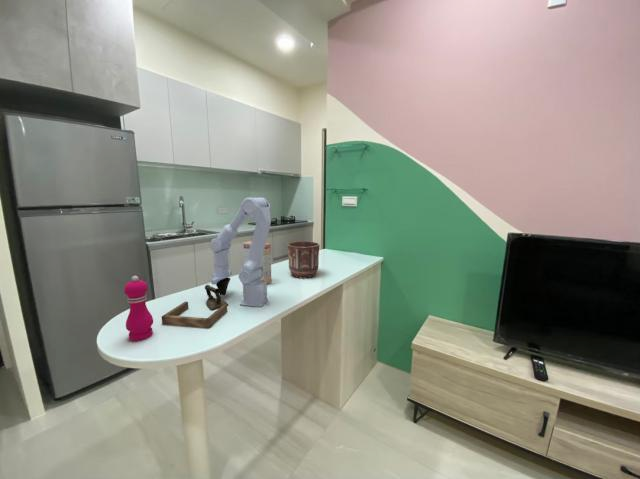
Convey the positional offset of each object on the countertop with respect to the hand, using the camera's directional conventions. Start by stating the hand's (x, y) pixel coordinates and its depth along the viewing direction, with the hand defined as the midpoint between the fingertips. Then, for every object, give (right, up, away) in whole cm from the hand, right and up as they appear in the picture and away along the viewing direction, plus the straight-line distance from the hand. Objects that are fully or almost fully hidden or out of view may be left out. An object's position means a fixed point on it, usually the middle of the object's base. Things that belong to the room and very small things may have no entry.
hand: (223, 294), depth 117 cm
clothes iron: (-1, -3, -8) cm, 8 cm away
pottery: (+33, +4, +34) cm, 48 cm away
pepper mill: (-14, -7, -33) cm, 36 cm away
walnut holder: (-2, -4, -19) cm, 20 cm away
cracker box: (+11, +2, +21) cm, 24 cm away
